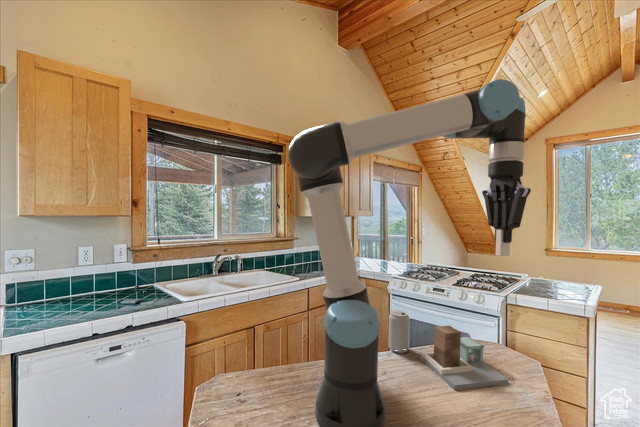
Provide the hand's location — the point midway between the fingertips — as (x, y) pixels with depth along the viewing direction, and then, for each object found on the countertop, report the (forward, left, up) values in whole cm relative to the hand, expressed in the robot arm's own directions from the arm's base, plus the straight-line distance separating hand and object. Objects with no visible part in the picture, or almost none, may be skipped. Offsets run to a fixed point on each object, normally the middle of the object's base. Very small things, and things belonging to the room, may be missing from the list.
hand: (502, 255), depth 76 cm
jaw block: (-7, +12, -33) cm, 36 cm away
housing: (+2, +14, -33) cm, 36 cm away
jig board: (-3, +10, -34) cm, 36 cm away
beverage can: (-15, +25, -35) cm, 45 cm away
